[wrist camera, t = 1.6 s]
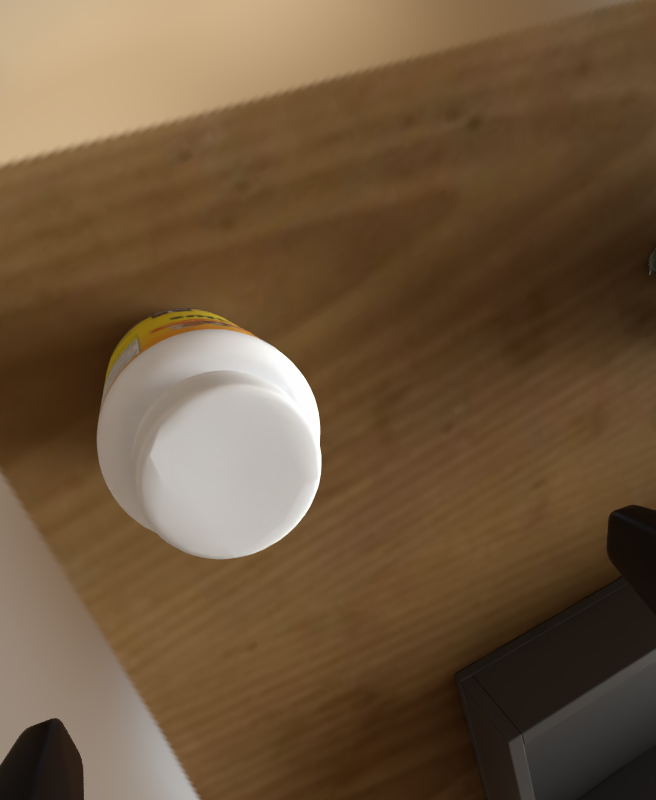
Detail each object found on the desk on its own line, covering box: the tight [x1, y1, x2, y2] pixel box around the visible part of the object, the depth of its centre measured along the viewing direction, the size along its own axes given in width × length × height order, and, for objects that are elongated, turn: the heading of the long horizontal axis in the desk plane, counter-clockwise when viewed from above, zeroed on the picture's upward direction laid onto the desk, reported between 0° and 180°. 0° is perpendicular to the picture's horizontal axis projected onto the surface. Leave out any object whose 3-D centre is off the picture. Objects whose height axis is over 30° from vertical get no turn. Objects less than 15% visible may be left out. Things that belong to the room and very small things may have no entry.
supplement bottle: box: [97, 308, 321, 559], centre depth 16 cm, size 6×6×10 cm
